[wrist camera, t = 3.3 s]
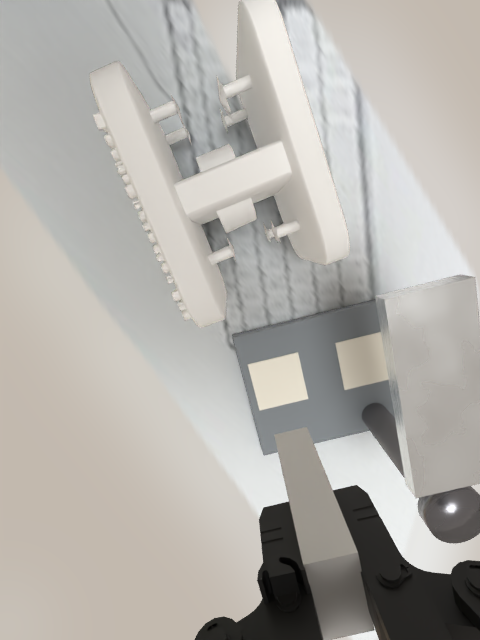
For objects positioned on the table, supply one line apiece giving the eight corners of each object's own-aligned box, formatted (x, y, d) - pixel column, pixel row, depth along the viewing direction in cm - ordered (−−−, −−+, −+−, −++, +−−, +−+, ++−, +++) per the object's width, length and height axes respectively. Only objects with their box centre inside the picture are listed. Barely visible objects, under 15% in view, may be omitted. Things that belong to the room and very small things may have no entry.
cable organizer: (316, 259, 31) (365, 271, 19) (203, 303, 31) (188, 340, 20) (254, 77, 27) (271, -36, 16) (130, 131, 28) (62, 57, 17)
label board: (232, 335, 32) (233, 390, 20) (384, 297, 31) (475, 331, 20) (262, 449, 35) (278, 556, 23) (403, 416, 34) (492, 508, 22)
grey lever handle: (374, 295, 19) (384, 299, 18) (460, 274, 19) (475, 277, 18) (413, 534, 22) (423, 550, 21) (485, 518, 22) (499, 533, 21)
